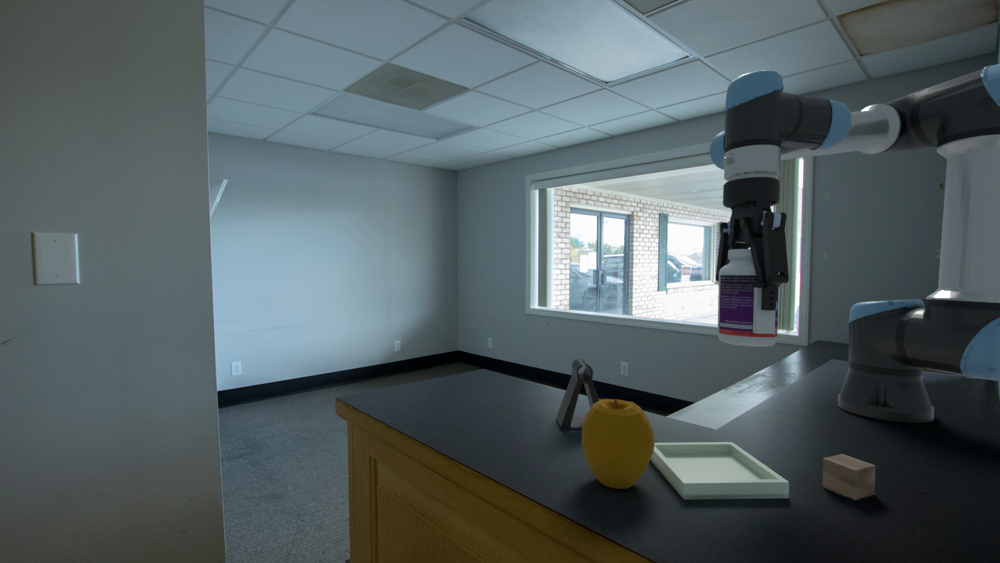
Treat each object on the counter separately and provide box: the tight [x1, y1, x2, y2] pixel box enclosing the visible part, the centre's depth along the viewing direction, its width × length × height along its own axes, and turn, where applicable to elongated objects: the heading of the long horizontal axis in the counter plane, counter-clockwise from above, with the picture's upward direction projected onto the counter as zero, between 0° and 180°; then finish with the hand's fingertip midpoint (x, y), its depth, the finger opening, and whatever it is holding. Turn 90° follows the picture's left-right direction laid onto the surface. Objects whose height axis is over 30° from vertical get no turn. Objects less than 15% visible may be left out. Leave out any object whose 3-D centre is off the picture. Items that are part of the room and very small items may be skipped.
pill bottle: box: [717, 248, 780, 348], centre depth 69 cm, size 8×8×14 cm
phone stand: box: [556, 358, 600, 430], centre depth 86 cm, size 9×6×12 cm, turn 90°
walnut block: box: [822, 453, 876, 501], centre depth 60 cm, size 4×4×4 cm
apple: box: [581, 397, 656, 490], centre depth 62 cm, size 10×10×12 cm
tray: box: [650, 441, 790, 500], centre depth 65 cm, size 14×14×2 cm
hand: (746, 329), depth 69 cm, fingers closed on pill bottle, 8 cm apart
